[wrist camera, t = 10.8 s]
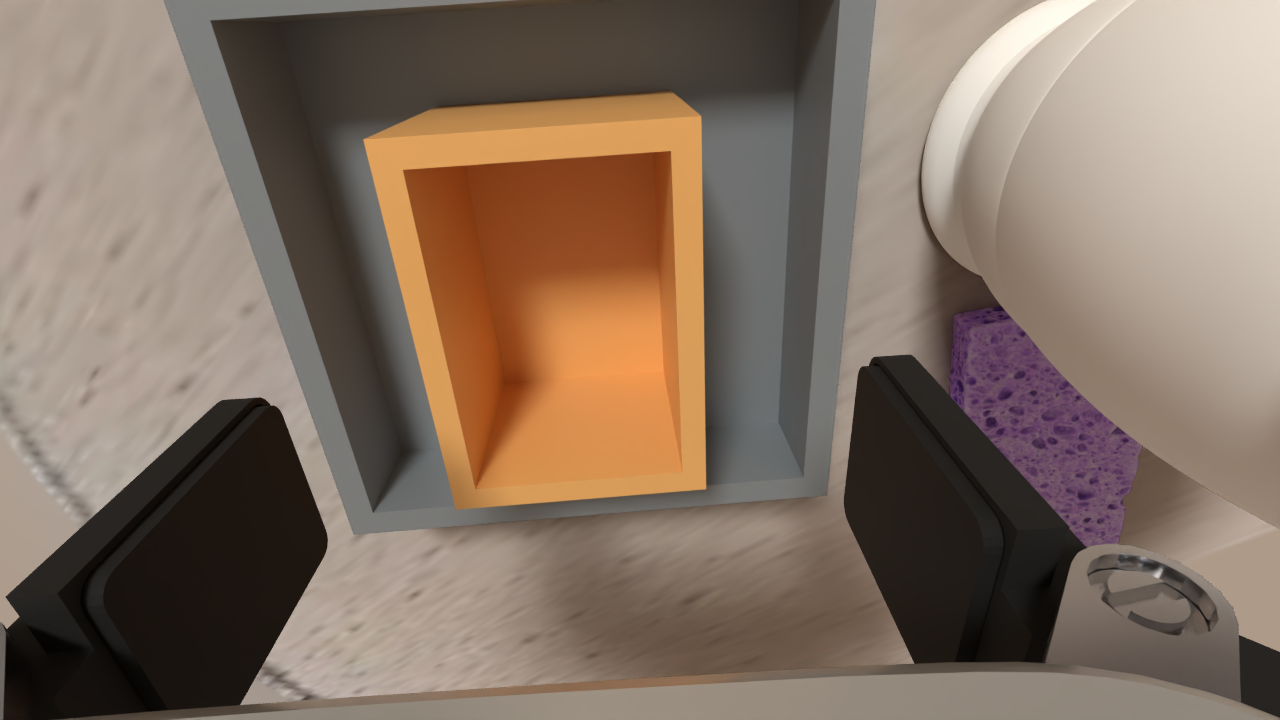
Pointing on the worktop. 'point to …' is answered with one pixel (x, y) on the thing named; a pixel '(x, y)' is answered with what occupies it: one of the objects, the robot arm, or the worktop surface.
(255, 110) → the grey square tray
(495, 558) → the worktop surface
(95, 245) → the worktop surface
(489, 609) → the worktop surface
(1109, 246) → the jar
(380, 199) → the small crate
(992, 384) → the sponges
